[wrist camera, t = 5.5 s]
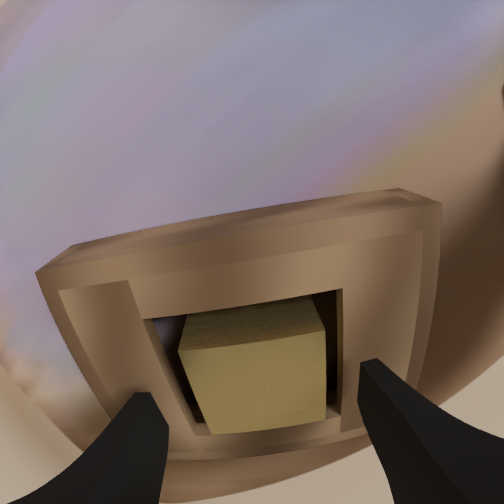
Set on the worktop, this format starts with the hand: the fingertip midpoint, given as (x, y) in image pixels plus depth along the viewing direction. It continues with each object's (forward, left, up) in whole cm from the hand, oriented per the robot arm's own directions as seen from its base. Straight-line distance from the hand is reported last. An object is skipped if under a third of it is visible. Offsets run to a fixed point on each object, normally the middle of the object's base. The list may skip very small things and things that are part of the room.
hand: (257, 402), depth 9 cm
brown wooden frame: (0, 0, -4) cm, 4 cm away
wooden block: (0, 0, -4) cm, 4 cm away
